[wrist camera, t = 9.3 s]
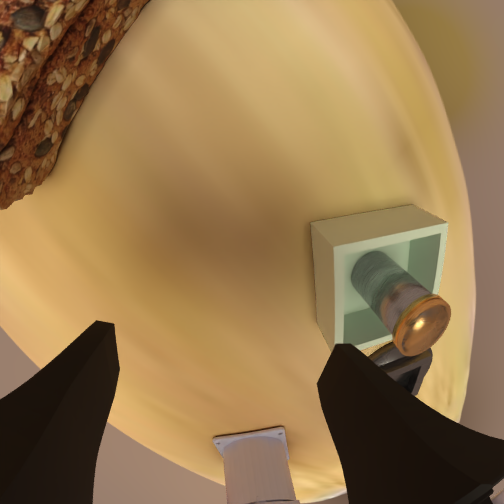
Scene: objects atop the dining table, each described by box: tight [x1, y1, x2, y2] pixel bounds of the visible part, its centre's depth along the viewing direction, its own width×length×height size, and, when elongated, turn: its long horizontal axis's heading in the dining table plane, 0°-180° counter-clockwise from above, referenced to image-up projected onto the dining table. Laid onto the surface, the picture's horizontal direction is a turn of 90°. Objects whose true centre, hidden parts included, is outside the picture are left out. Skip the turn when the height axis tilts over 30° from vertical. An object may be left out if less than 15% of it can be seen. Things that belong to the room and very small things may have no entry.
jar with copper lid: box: [351, 251, 451, 356], centre depth 17 cm, size 4×4×7 cm
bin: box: [310, 205, 448, 353], centre depth 18 cm, size 8×8×4 cm
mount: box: [368, 342, 433, 396], centre depth 25 cm, size 10×10×2 cm
